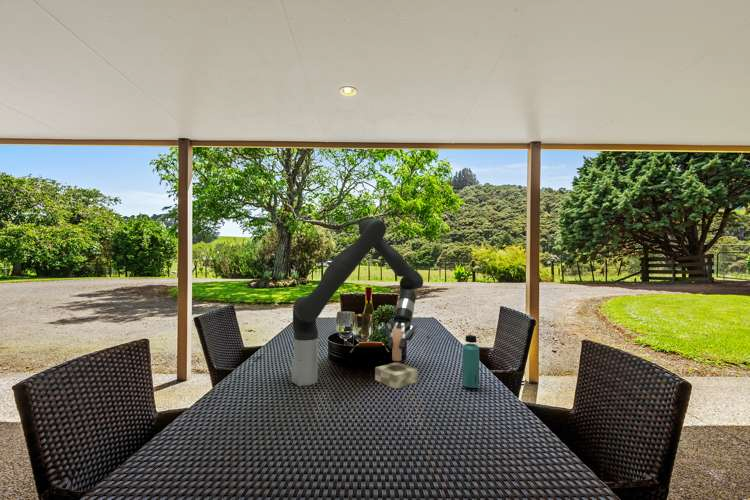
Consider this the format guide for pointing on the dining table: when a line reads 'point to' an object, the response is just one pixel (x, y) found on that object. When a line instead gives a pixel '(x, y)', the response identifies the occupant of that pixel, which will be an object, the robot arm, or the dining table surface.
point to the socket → (396, 375)
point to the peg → (396, 344)
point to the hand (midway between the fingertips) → (395, 347)
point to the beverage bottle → (470, 363)
